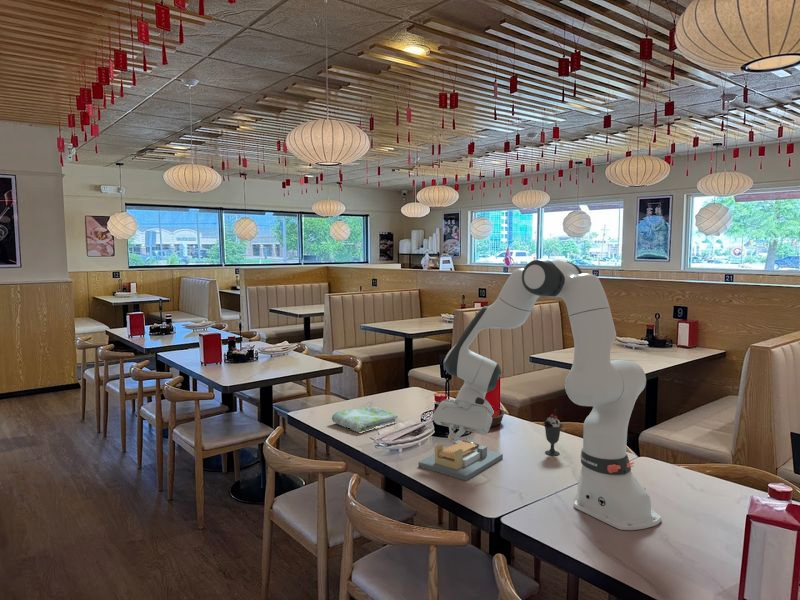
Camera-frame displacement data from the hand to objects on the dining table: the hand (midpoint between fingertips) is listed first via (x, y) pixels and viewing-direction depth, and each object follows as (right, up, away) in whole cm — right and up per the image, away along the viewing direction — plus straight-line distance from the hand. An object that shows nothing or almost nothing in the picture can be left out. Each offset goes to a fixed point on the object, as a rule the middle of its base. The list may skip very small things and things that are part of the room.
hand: (452, 439), depth 172 cm
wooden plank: (+7, -4, +9) cm, 12 cm away
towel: (-31, -6, +48) cm, 57 cm away
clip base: (+3, -9, +5) cm, 11 cm away
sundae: (+36, -8, +13) cm, 39 cm away
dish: (+17, -6, +48) cm, 51 cm away
